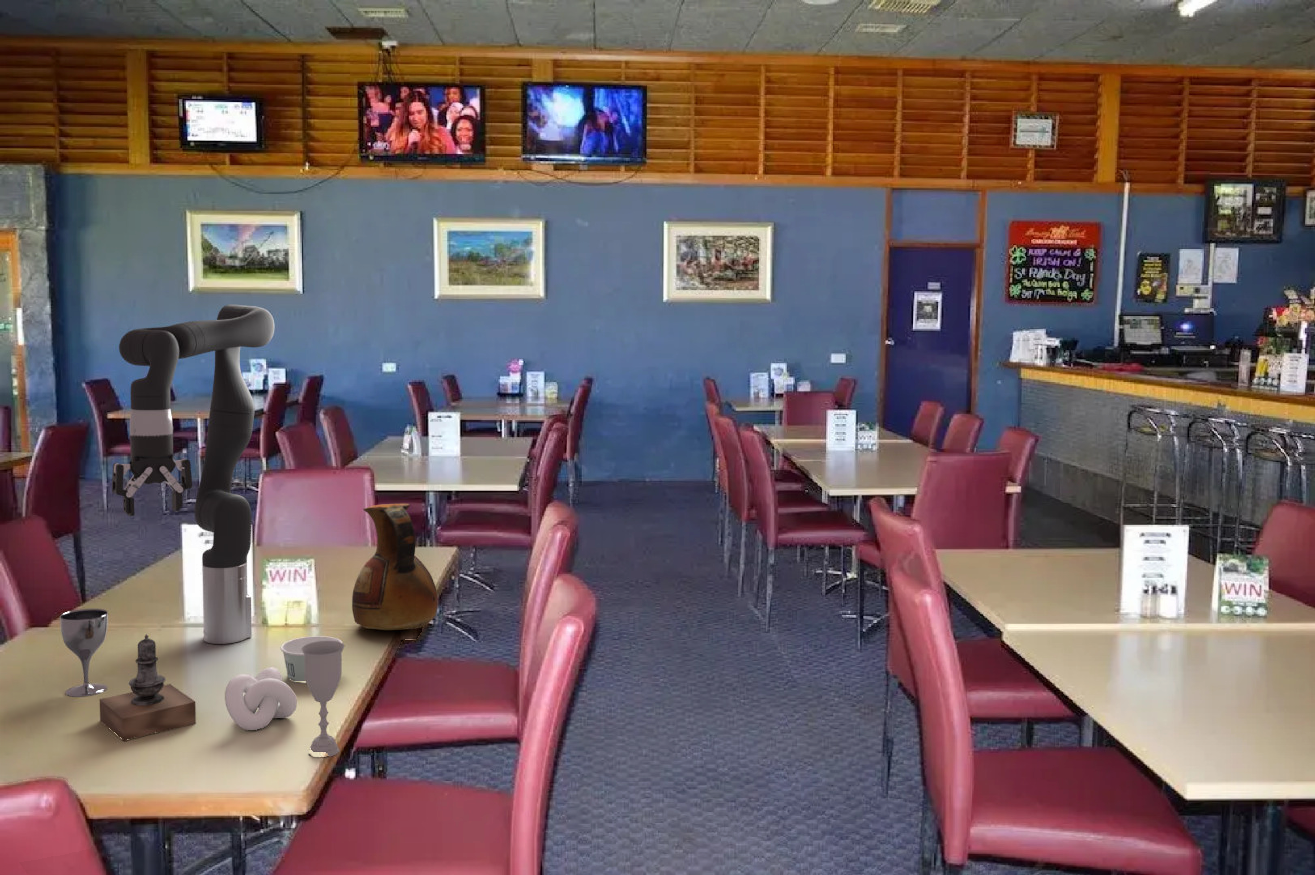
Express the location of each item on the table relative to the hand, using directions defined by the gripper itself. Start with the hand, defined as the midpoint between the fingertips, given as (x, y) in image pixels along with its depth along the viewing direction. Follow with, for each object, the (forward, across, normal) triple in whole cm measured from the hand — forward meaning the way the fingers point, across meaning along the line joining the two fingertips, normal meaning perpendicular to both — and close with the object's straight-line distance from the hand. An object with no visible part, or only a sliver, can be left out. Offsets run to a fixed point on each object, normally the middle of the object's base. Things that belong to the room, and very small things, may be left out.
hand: (153, 513), depth 202 cm
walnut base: (+33, +10, +24) cm, 42 cm away
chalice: (+33, -7, +56) cm, 66 cm away
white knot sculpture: (+33, -4, +37) cm, 50 cm away
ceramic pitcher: (+33, -53, +2) cm, 63 cm away
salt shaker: (+29, +10, +24) cm, 39 cm away
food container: (+33, -23, +20) cm, 45 cm away
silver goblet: (+33, +13, 0) cm, 36 cm away
